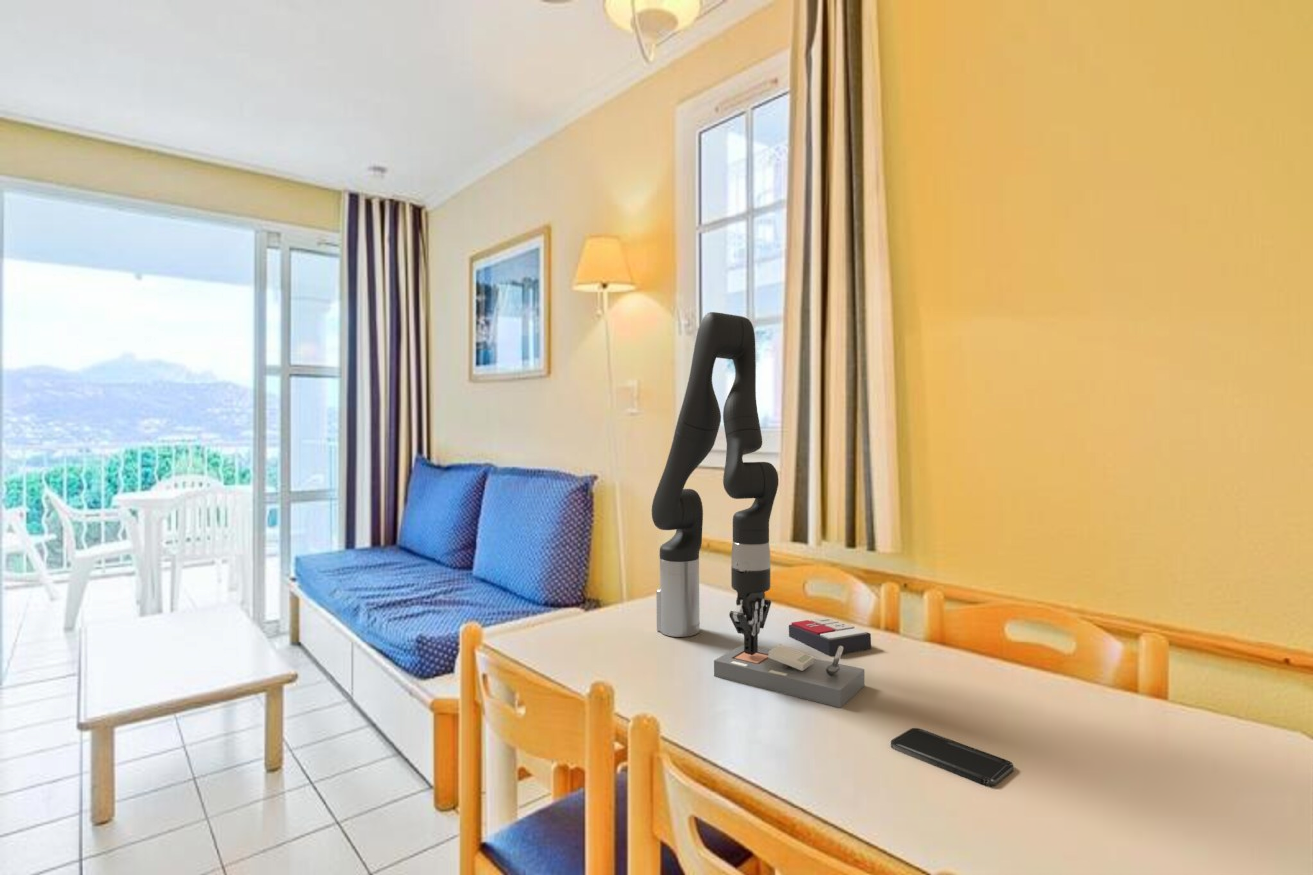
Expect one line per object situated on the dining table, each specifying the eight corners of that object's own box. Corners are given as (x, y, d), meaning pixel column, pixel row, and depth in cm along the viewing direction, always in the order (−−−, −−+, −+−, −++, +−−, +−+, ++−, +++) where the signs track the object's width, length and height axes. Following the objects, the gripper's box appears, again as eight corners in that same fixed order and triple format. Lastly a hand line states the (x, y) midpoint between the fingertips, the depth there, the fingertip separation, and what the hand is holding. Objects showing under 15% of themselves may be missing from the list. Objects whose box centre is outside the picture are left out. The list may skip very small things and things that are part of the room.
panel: (714, 675, 127) (713, 657, 127) (744, 657, 137) (744, 640, 137) (840, 707, 112) (840, 686, 112) (864, 685, 122) (864, 665, 122)
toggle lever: (824, 672, 119) (835, 645, 118) (830, 668, 121) (840, 642, 119) (833, 677, 118) (843, 650, 117) (838, 673, 120) (848, 646, 119)
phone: (991, 783, 87) (887, 741, 98) (991, 791, 87) (887, 749, 98) (1016, 763, 92) (914, 726, 103) (1016, 771, 92) (914, 733, 103)
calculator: (826, 615, 155) (871, 629, 142) (827, 633, 155) (872, 650, 142) (787, 621, 151) (830, 636, 137) (788, 640, 151) (830, 657, 137)
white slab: (767, 657, 124) (768, 650, 124) (779, 649, 128) (780, 643, 128) (802, 670, 120) (803, 664, 120) (813, 662, 124) (814, 656, 124)
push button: (734, 672, 128) (734, 657, 128) (747, 664, 132) (746, 650, 132) (757, 677, 125) (757, 663, 125) (769, 669, 129) (769, 655, 129)
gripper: (750, 556, 136) (750, 640, 136) (716, 568, 125) (716, 658, 126) (783, 561, 132) (783, 647, 132) (751, 573, 121) (751, 667, 121)
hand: (750, 653), depth 129 cm, fingers closed
